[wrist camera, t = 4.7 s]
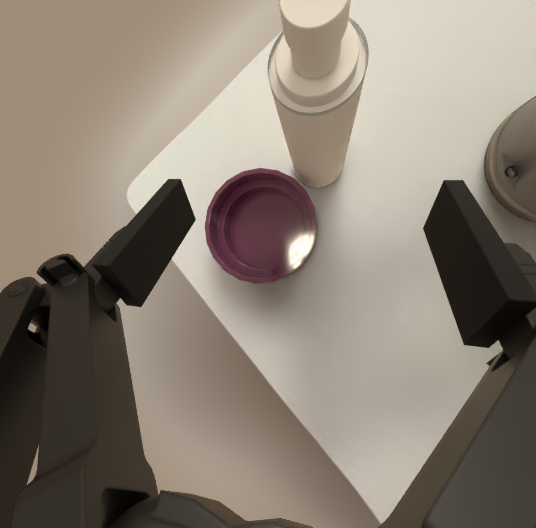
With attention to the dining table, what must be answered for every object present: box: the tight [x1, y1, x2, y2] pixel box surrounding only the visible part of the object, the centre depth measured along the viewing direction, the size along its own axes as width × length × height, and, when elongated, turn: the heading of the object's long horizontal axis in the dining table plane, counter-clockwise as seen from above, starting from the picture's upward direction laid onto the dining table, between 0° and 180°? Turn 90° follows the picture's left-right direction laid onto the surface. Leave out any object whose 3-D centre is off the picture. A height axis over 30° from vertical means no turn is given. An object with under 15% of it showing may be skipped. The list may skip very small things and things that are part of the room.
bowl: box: [205, 168, 317, 283], centre depth 34 cm, size 14×14×6 cm
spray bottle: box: [268, 0, 368, 188], centre depth 23 cm, size 7×7×25 cm
